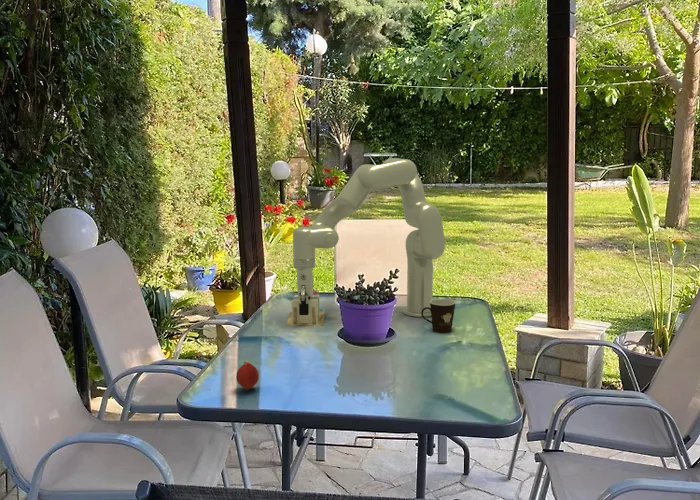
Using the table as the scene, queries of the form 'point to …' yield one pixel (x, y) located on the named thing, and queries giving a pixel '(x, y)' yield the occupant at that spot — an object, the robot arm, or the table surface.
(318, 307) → the plate
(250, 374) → the onion
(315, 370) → the table surface
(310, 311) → the cream rectangular slab
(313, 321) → the dish rack
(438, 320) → the coffee mug
